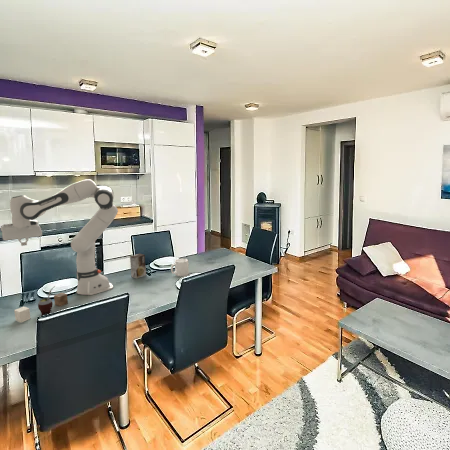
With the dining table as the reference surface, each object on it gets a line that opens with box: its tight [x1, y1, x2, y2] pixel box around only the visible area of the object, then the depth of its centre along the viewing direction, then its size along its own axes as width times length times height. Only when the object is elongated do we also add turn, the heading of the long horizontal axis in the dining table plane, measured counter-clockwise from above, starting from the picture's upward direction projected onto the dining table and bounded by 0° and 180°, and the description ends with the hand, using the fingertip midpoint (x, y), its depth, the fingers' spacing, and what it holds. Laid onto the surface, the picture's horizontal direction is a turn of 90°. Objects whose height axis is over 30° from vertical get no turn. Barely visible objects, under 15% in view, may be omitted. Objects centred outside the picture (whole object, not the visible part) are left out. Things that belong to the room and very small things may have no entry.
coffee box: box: [129, 253, 147, 279], centre depth 235 cm, size 9×6×16 cm
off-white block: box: [14, 306, 31, 323], centre depth 170 cm, size 5×5×6 cm
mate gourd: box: [37, 285, 56, 317], centre depth 176 cm, size 8×8×15 cm
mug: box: [170, 258, 190, 277], centre depth 238 cm, size 14×10×11 cm
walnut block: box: [53, 292, 69, 307], centre depth 189 cm, size 5×5×6 cm
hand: (24, 245), depth 191 cm, fingers closed
